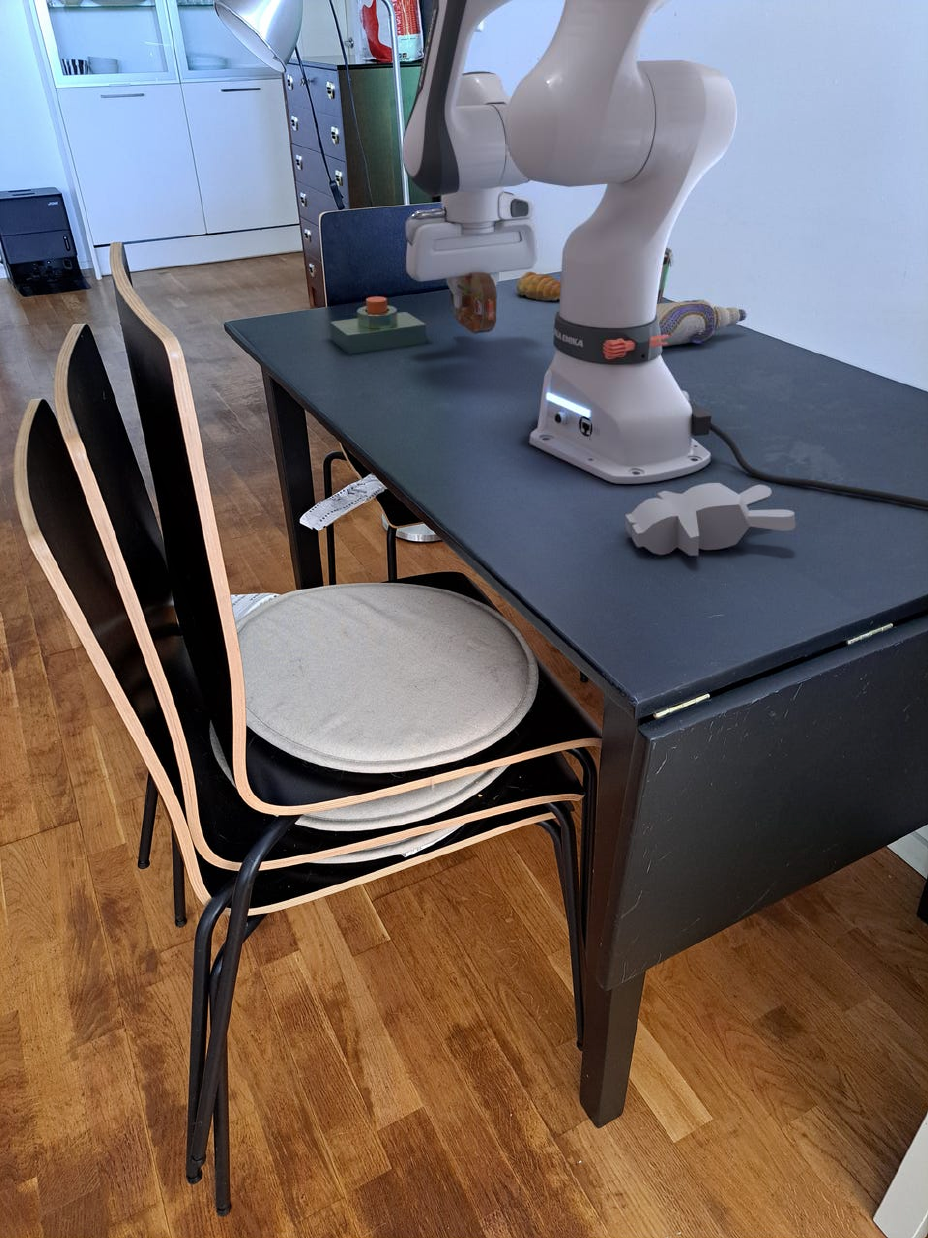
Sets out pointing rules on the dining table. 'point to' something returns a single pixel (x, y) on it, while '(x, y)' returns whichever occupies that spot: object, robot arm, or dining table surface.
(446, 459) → the dining table surface
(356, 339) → the console
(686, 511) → the bunny figurine
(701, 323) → the decorative bottle
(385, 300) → the button
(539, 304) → the dining table surface
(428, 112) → the robot arm
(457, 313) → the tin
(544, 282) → the pastry
